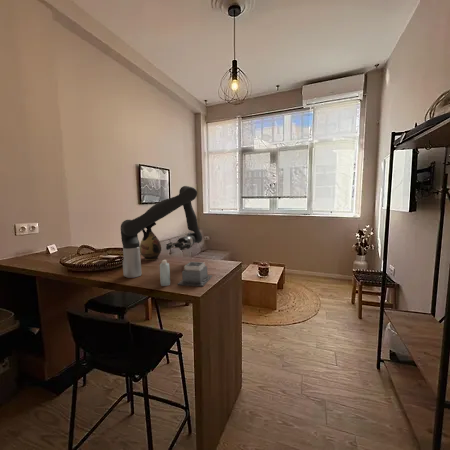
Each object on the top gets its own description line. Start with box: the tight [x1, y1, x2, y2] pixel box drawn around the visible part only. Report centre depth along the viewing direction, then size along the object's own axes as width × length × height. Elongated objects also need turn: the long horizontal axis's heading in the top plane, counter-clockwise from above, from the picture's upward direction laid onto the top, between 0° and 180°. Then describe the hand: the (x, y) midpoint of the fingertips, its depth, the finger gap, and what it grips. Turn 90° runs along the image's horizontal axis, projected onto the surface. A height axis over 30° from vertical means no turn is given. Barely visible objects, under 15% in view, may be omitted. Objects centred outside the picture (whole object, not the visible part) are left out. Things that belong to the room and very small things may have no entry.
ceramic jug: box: [139, 222, 162, 261], centre depth 183 cm, size 17×15×30 cm
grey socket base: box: [177, 261, 213, 288], centre depth 136 cm, size 14×16×9 cm
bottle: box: [158, 259, 171, 287], centre depth 131 cm, size 5×5×13 cm
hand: (173, 248), depth 142 cm, fingers open, 8 cm apart
